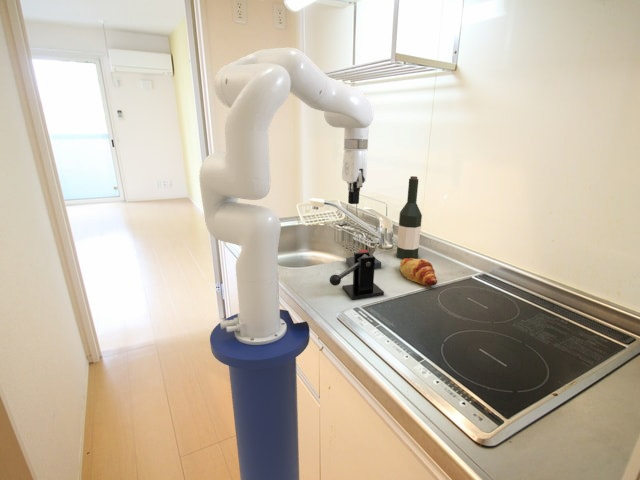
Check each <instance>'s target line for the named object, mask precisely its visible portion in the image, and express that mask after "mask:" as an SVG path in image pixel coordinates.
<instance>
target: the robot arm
mask: <svg viewBox="0 0 640 480" xmlns="http://www.w3.org/2000/svg"><path fill="white" fill-rule="evenodd" d="M213 87H214V92H215V95H216V97H217V99H218V100H219V101H220V103H221V104H222V105H224V106H225V107H227V108H229V110H228V113H227V115H226V119H225V123H224V138H225V139H224V140H225V151H215V152H212V153H210V154H208V155H207V156H206V157H205V158H204V160H203V161H202V163H201V166H200V170H199V175H198V177H199V179H198V180H199V188H200V195H201V203H202V210H203V216H204V222H205V226H206V229H207V231H208V233H209V235H211V236H212V238H214V239H215V240H217V241H220V242H224V243H228V244H232V245H236V246H239V247H241V250H240V253H239V254H238V257H237V259H236V261H235V277H236V287H237V288H236V289H237V299H238V313H237V314H238V317H237V318H234V320H225V319H224V320H225V321H223V320H220V322H219V323H220V324H221V329H225V328H226V329H227V332H232V331H234V332H235V337H236V338H237V340H239V341H240V342H242V343H245V344H249V345H264V344H269V343H272V342H275V341H277V340H279V339H280V338H282V337H283V336H284V335H285V333H286V331H287V325H286V323H285V321H284V320H282V319H281V318H280V309H281V307H280V306H281V305H280V286H279V260H278V257H279V244H280V237H281V231H282V223H281V219H280V217H279V216H278V215H277V213H275V212H274V211H273V210H271V209H270V208H268V207H265V206H262V205H257V204H250V203H242V202H239V201H238V200H239V199H240V200H249V201H257V200H262V199H264V198H266V197H267V195H268V194H269V193H270V190H271V182H272V181H271V165H270V146H269V132H270V126H271V123H272V121H273V120H274V119H273V118H274V117H275V115H276V113H277V112H278V111H279V110H280V108H281V107H282V106H283V105H284V104H285V103H286V101H287V100H288V98H289V95H290V94H292V95H293V96H294V97H296V98H297V99H298V100H300V102H303V103H304V104H305V105H306V106H308V107H309V108H311V109H313V110H318V111H321V112H323V117H324V121H325V122H326V123H327V125H329V126H330V127H332V128H337V129H338V128H340V129H344V130H343V131H344V132H343V137H344V138H343V151H344V153H343V159H342V167H341V168H342V170H341V179H342V180H343V181H344V182H346V184H347V191H348V195H347V196H348V197H347V199H348V200H347V203H348V205H349V204H350V205H359V203H360V192H361V188H363V184H364V183H365V182H366V180H367V169H368V168H367V167H368V166H367V162H368V161H367V152H368V147H369V126H371V124H372V123H373V121H374V116H375V112H374V107H373V105H372V102H371V101H370V100H369V98H368V97H367V96H366V95H365V94H364V93H363V92H362V91H361V90H360V89H358V88H356V87H354V86H352V85H349V84H347V83H345V82H342V81H340V80H338V79H335V78H332V77H330V76H328V75H327V74H326V72H324V71H323V70H322V69H321V68H319V66H317V65H316V63H315V62H314V61H313V60H312V59H310V58H309V57H308V56H307V55H306V54H305V53H304V52H303V51H302V50H300V49H298V48H296V47H291V46H290V47H276V48H275V47H274V48H265V49H263V48H262V49H259V50H257V51H254V52H252V53H249V54H248V55H245V56H243V57H241V58H239V59H236V60H234V61H232V62H230V63H228V64H225V65H224V66H222V67H221V68H220V69H218V71H217V73H216V75H215V78H214V83H213Z"/></svg>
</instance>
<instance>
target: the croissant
mask: <svg viewBox="0 0 640 480" xmlns="http://www.w3.org/2000/svg"><path fill="white" fill-rule="evenodd" d="M399 270H400V272H401V276H402V277H404V278H406V279H407V280H409V281H412V282H415V283H418V284H420V285H423V286H427V287H432V286H436V285H437V284H438V279H437V276H436V273H435V269H434V267H433V264H432V263H431V262H430V261H429V260H427V259H423V258H422V259H421V258H417V259H413V258H408V259H407V258H406V259H403V260H402V259H401V260H400V264H399Z"/></svg>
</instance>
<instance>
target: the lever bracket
mask: <svg viewBox="0 0 640 480" xmlns="http://www.w3.org/2000/svg"><path fill="white" fill-rule="evenodd" d="M369 253H370V251H369V252H359V251H358V252H354V253H353V257H354V264H356V263H357V262H358V260H357V259H358V258H359V257H360V258H359V267H358V268H357V269H355V270H354V271H352V284H351V283H350V284H345V285H341V287H342V288H341V289H342V291H343V292H344V293H345V294H346V295H347V297H348V298H349V299H350V300H351V301H357V300H365V299H370V298H377V297H384V296H385V291H384V290H382V289H381V288H380V286H378V285H377V284H376V283H374V282H375V269H374V266H375V258H376V256H375V255H373V256H369ZM364 254H366V255H367V256H368V257H361V256H362V255H364Z"/></svg>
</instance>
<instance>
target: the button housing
mask: <svg viewBox="0 0 640 480" xmlns="http://www.w3.org/2000/svg"><path fill="white" fill-rule="evenodd" d="M369 256H374V254H373V253H371V252H369ZM345 263H346V265H347V266H348V268H350V267H351V266H353V265H354V256H353V257H352V256H350V257H345ZM378 269H382V261H381V260H379V259H377V257H375V266H374V270H378Z"/></svg>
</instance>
